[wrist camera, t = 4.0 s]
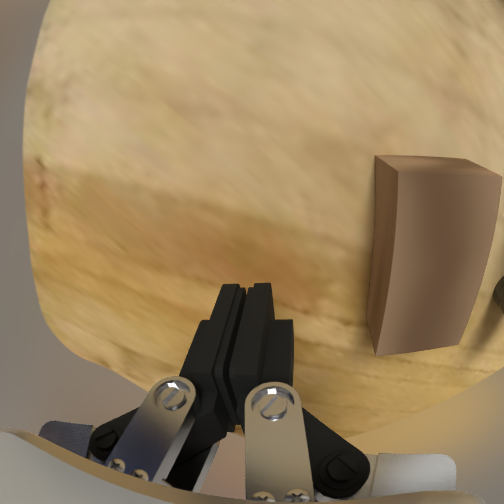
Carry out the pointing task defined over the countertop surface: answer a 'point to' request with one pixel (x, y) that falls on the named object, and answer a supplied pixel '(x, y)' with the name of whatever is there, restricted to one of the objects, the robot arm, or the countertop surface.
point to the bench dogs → (499, 294)
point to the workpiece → (428, 249)
